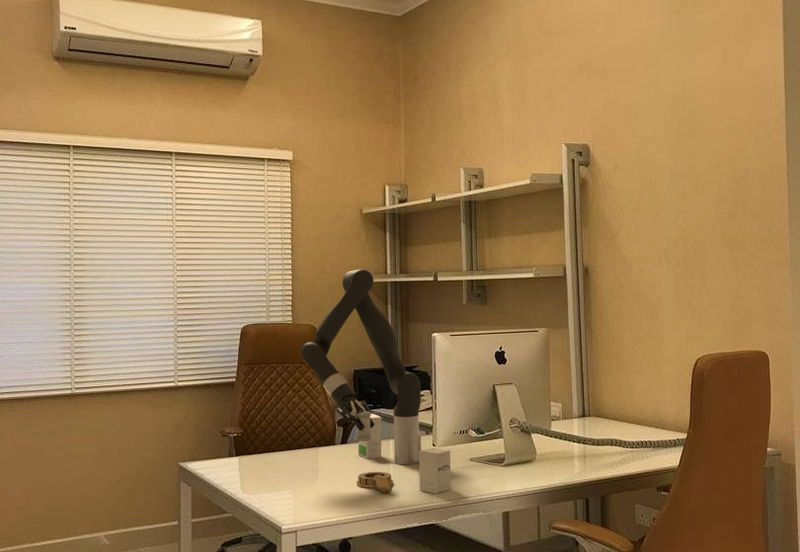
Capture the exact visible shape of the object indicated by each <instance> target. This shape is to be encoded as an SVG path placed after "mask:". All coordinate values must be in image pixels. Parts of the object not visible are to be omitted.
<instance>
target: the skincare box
mask: <svg viewBox="0 0 800 552" xmlns="http://www.w3.org/2000/svg"><path fill="white" fill-rule="evenodd" d="M370 418H371V419H372V421H373V422H374V424H375V425H374V426H373V427H372V428H370V436H371V440H369V441H358V448H357V449H358V455H359V456H361V457H363V458H365V459H374V458H373V457H376V458H382V419H383V418H382V416H379V415H378V414H374V413H371V416H370Z"/></svg>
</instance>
